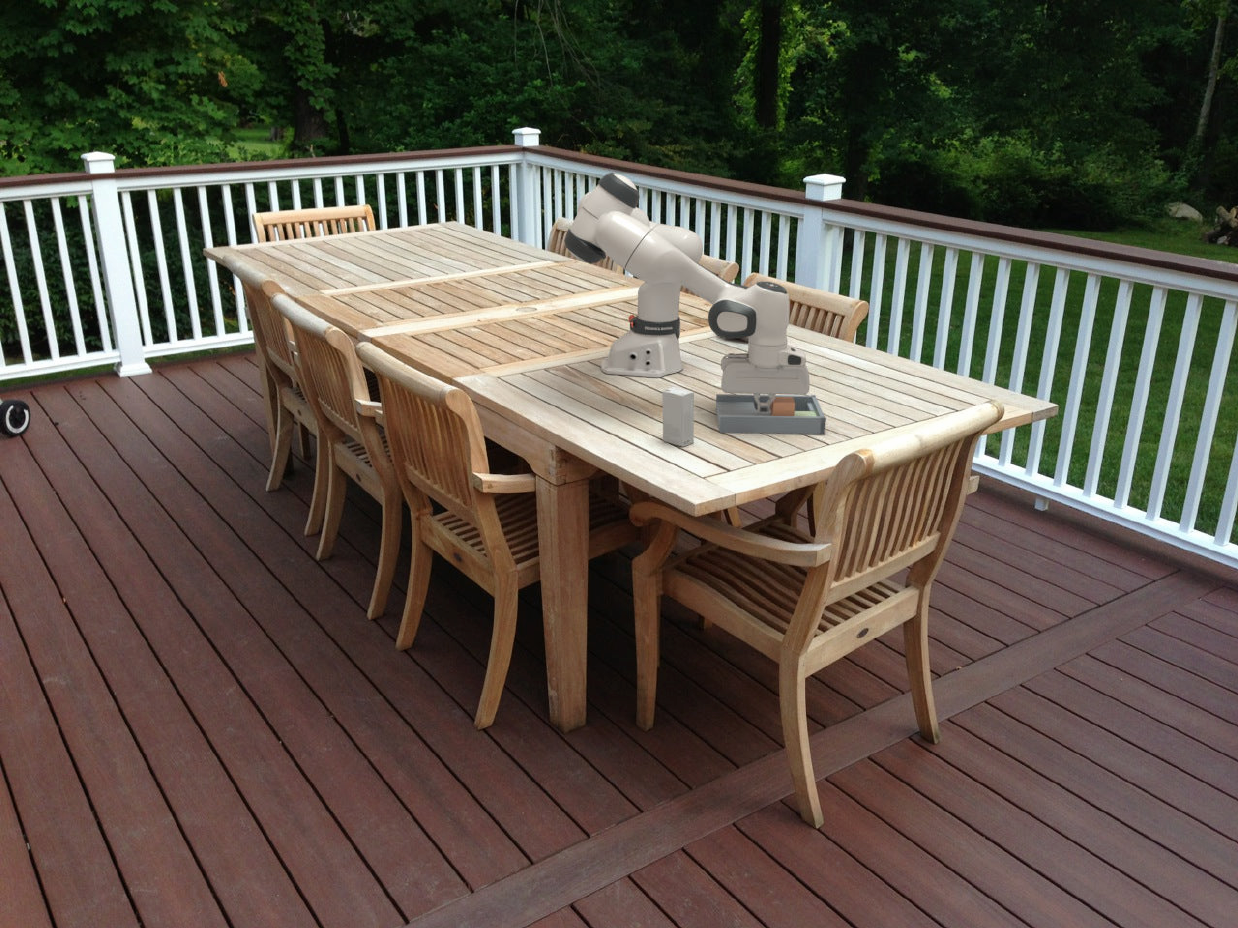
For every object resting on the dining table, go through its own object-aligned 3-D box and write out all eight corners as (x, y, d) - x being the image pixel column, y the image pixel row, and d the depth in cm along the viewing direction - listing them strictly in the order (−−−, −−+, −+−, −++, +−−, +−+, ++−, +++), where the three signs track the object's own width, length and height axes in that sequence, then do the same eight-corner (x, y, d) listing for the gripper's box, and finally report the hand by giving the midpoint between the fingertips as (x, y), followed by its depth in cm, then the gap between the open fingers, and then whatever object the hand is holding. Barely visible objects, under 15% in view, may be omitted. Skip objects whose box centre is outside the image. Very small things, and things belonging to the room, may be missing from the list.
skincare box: (694, 442, 245) (696, 391, 241) (681, 448, 242) (683, 396, 238) (673, 436, 249) (675, 385, 245) (660, 441, 246) (661, 390, 241)
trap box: (720, 432, 251) (720, 416, 250) (715, 409, 267) (716, 393, 266) (824, 434, 251) (825, 418, 250) (813, 410, 267) (815, 395, 265)
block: (772, 419, 253) (773, 403, 251) (770, 412, 257) (771, 396, 256) (794, 420, 253) (795, 404, 251) (791, 413, 257) (792, 397, 256)
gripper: (722, 356, 247) (719, 414, 252) (813, 358, 246) (808, 416, 251) (720, 349, 253) (718, 406, 258) (809, 351, 252) (804, 407, 257)
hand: (763, 411), depth 255 cm, fingers closed
